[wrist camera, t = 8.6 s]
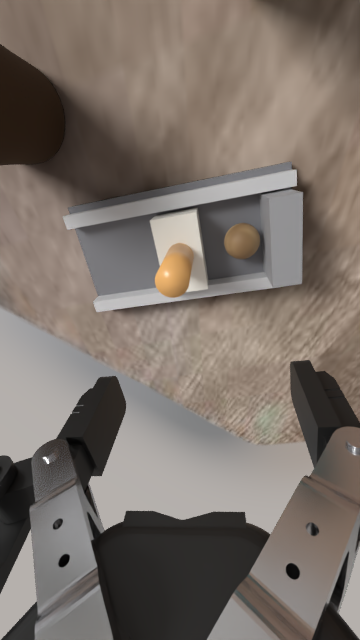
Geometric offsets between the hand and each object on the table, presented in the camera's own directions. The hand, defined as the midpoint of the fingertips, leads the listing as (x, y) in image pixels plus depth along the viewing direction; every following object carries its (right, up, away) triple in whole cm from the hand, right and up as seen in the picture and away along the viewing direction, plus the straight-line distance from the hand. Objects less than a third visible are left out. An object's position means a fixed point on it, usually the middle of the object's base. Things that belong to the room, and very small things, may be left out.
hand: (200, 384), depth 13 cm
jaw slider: (-1, +12, +22) cm, 25 cm away
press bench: (0, +13, +24) cm, 27 cm away
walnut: (+6, +13, +21) cm, 26 cm away
